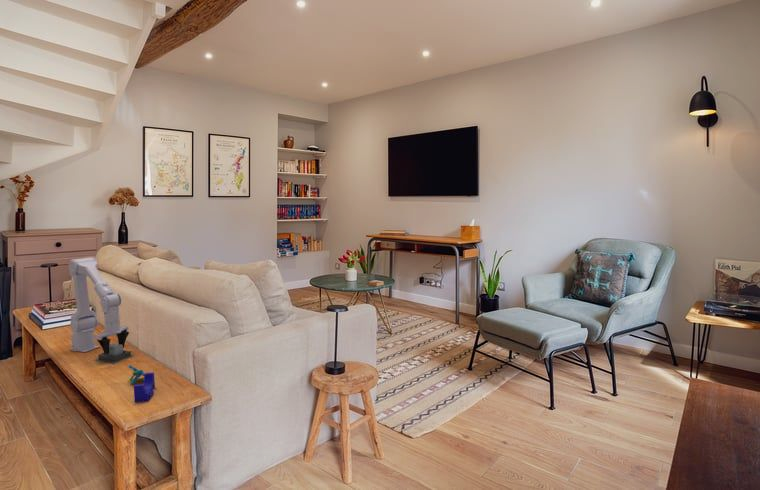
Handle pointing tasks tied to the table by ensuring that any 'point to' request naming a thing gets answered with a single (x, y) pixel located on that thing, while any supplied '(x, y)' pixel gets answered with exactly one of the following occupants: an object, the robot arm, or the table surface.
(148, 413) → the table surface
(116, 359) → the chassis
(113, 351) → the block
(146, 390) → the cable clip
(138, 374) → the teal irregular piece
